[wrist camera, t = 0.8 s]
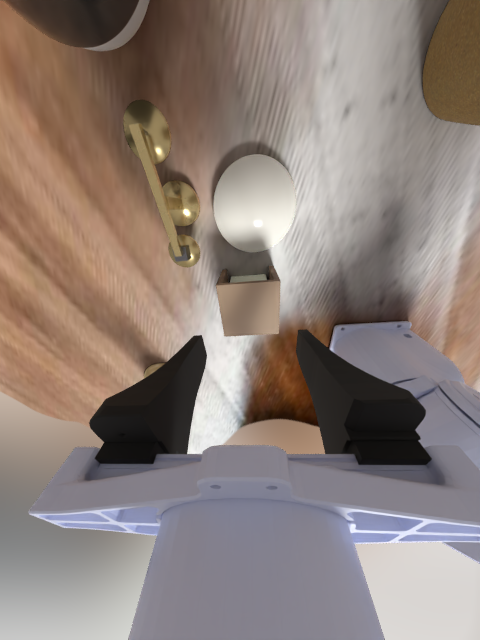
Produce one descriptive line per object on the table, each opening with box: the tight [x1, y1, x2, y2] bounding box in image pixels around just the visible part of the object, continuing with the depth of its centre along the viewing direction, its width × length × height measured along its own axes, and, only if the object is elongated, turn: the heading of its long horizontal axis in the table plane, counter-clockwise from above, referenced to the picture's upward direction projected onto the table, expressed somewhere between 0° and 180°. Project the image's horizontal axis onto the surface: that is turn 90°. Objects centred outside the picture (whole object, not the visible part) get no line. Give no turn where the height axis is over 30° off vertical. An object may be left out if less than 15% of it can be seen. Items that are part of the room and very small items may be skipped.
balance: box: [123, 100, 200, 267], centre depth 15 cm, size 4×11×6 cm, turn 5°
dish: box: [213, 154, 296, 252], centre depth 17 cm, size 8×8×1 cm
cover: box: [216, 266, 280, 336], centre depth 20 cm, size 6×6×5 cm
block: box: [230, 274, 267, 283], centre depth 20 cm, size 4×4×4 cm
